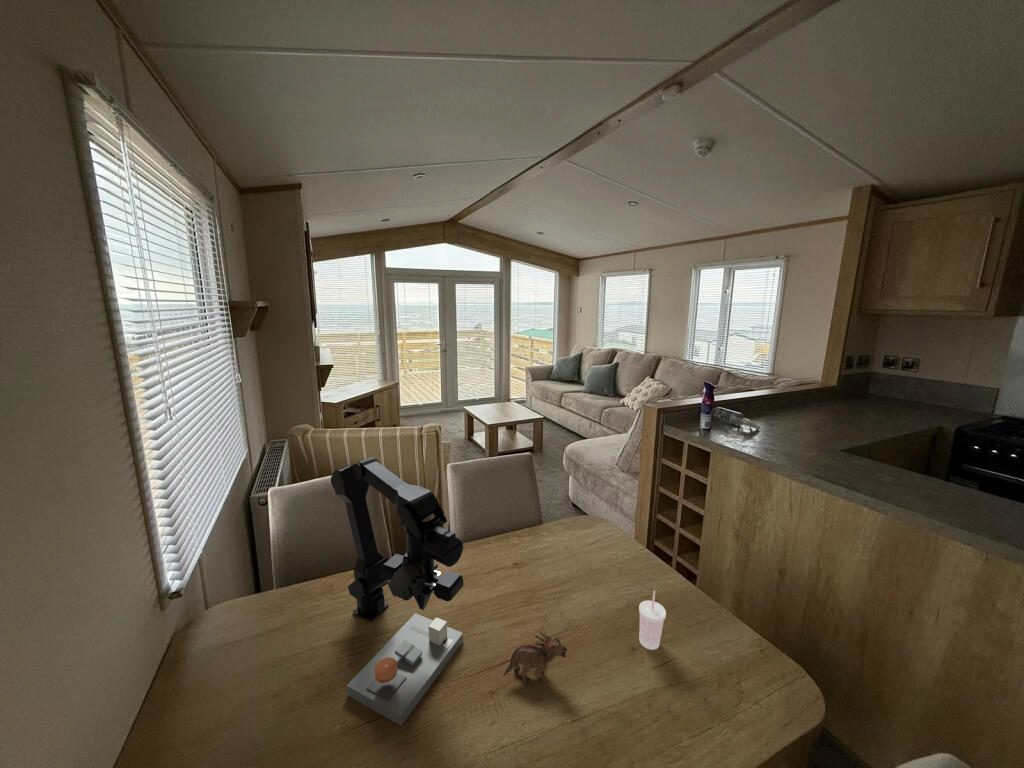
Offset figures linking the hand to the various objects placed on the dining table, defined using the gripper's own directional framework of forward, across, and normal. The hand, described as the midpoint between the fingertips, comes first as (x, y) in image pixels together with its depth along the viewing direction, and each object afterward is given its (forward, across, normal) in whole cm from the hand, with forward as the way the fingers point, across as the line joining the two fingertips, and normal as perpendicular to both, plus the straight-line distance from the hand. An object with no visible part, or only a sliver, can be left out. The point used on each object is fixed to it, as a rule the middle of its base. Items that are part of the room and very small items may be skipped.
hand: (422, 608), depth 95 cm
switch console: (+11, 0, -5) cm, 12 cm away
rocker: (+7, 0, -5) cm, 9 cm away
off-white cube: (+8, +3, +2) cm, 9 cm away
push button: (+7, 0, -12) cm, 14 cm away
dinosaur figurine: (+11, +25, +5) cm, 28 cm away
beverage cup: (+11, +47, +25) cm, 55 cm away
